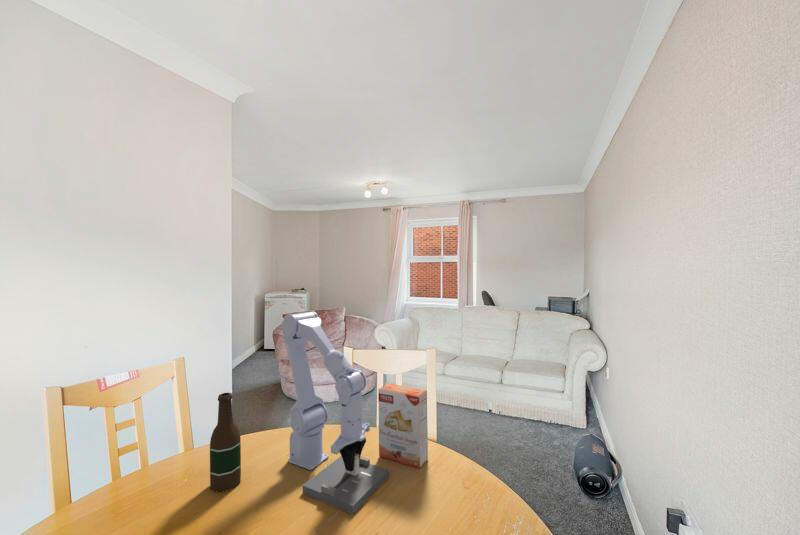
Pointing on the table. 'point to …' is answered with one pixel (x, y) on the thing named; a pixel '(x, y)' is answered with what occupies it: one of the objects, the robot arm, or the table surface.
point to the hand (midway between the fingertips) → (351, 467)
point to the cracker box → (403, 424)
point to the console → (346, 484)
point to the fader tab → (356, 466)
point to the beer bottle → (225, 448)
